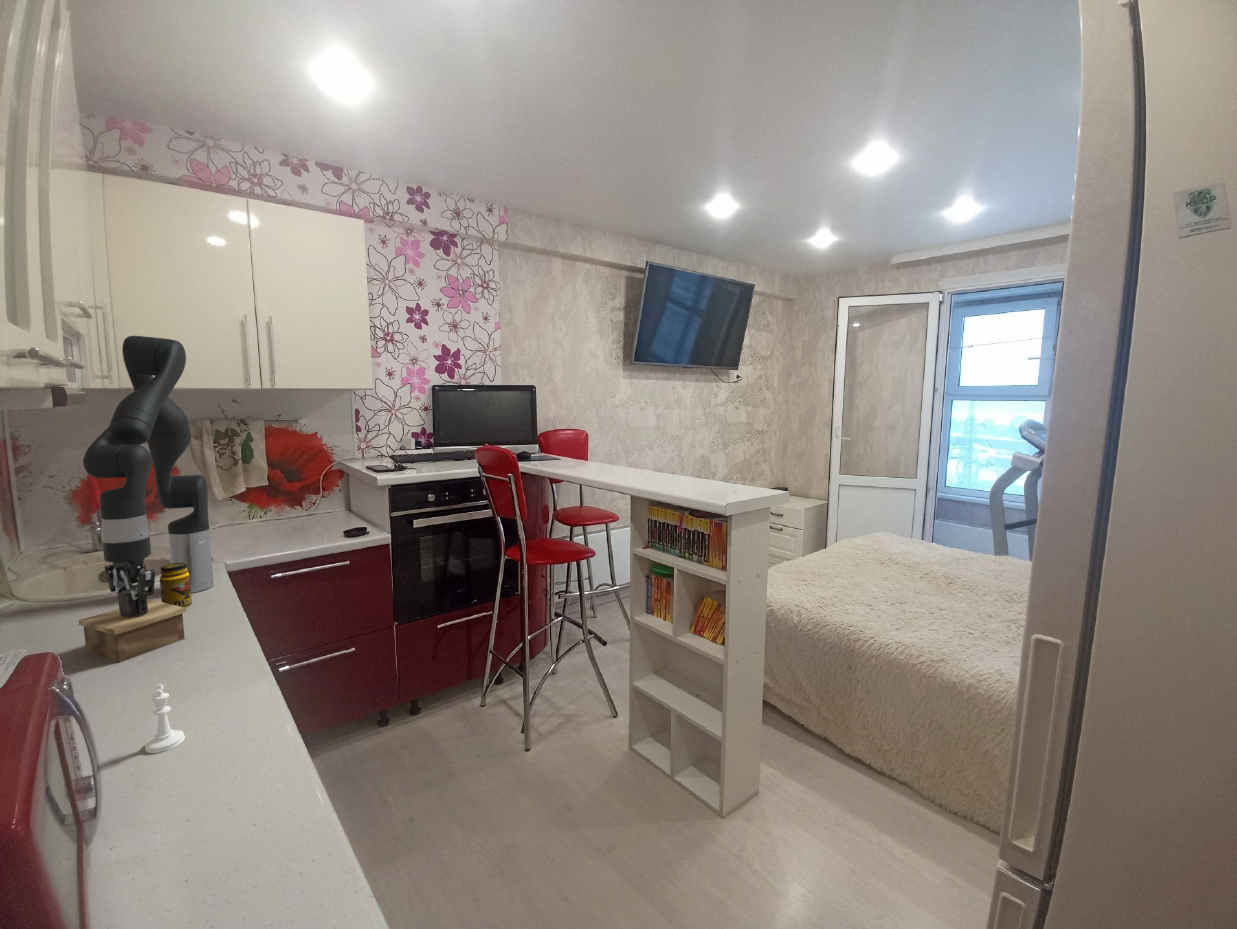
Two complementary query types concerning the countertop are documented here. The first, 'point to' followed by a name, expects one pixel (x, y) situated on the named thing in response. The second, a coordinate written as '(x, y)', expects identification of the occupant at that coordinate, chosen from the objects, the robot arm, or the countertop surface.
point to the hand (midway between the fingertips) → (133, 612)
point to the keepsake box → (134, 639)
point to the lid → (130, 615)
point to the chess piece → (163, 726)
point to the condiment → (175, 585)
